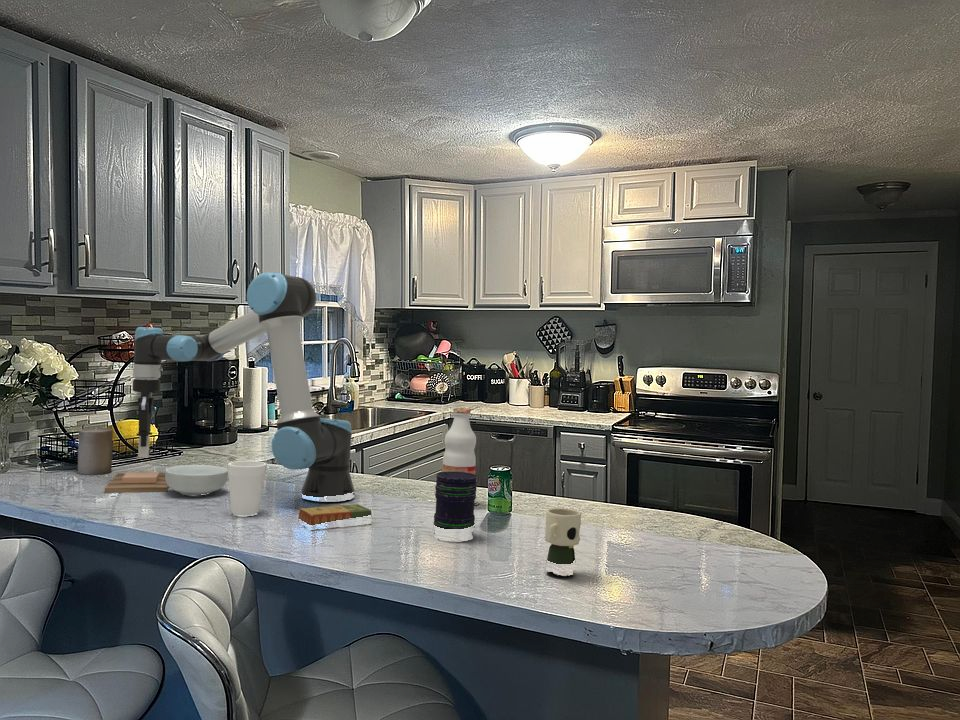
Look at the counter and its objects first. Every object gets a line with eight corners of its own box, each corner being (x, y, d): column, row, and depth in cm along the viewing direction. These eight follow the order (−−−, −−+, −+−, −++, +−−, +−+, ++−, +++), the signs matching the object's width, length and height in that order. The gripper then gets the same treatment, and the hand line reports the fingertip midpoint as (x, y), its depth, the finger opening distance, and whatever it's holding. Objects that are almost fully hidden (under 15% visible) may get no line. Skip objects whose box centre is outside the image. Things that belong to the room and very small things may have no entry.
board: (166, 491, 205) (167, 487, 204) (104, 492, 199) (104, 488, 199) (173, 476, 227) (174, 472, 227) (118, 476, 222) (118, 472, 222)
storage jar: (481, 536, 173) (484, 475, 173) (460, 545, 165) (463, 480, 164) (447, 529, 178) (450, 469, 178) (424, 537, 170) (427, 474, 169)
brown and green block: (298, 524, 177) (298, 507, 177) (357, 518, 186) (358, 502, 186) (310, 532, 170) (311, 514, 170) (371, 525, 179) (372, 508, 179)
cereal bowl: (199, 502, 194) (200, 476, 193) (150, 495, 199) (151, 470, 199) (239, 491, 210) (240, 467, 210) (193, 485, 215) (194, 462, 215)
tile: (159, 477, 218) (155, 483, 209) (126, 478, 215) (121, 483, 206) (159, 471, 218) (156, 477, 209) (126, 472, 215) (122, 477, 206)
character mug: (564, 585, 140) (568, 519, 140) (532, 577, 144) (536, 513, 144) (587, 572, 149) (590, 510, 149) (556, 565, 153) (559, 504, 153)
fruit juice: (436, 502, 208) (441, 407, 208) (467, 502, 211) (472, 407, 211) (446, 510, 199) (451, 410, 199) (478, 509, 203) (483, 410, 202)
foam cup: (224, 519, 177) (226, 466, 177) (226, 510, 186) (229, 460, 186) (263, 518, 180) (266, 467, 180) (264, 510, 189) (267, 461, 188)
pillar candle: (114, 469, 233) (116, 423, 233) (107, 475, 224) (109, 427, 223) (81, 470, 230) (83, 423, 230) (73, 475, 221) (74, 427, 221)
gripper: (158, 380, 209) (154, 460, 210) (162, 377, 222) (159, 453, 222) (129, 379, 207) (126, 460, 207) (136, 377, 219) (132, 453, 220)
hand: (143, 456), depth 215 cm, fingers closed
